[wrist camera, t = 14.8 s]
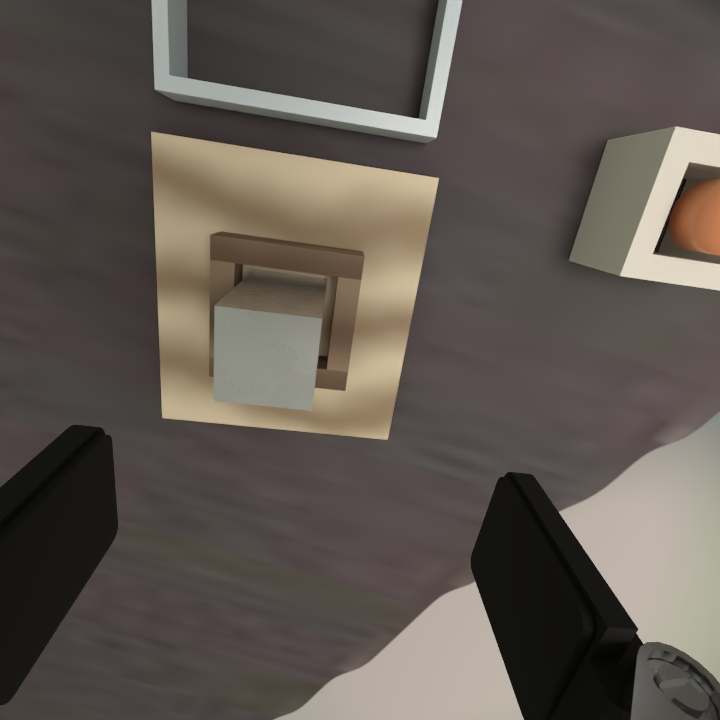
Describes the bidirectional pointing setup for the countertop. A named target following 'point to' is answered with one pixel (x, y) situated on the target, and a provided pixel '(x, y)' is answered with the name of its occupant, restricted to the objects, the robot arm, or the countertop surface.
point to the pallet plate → (288, 255)
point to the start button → (697, 218)
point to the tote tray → (178, 87)
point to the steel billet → (269, 340)
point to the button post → (647, 207)
